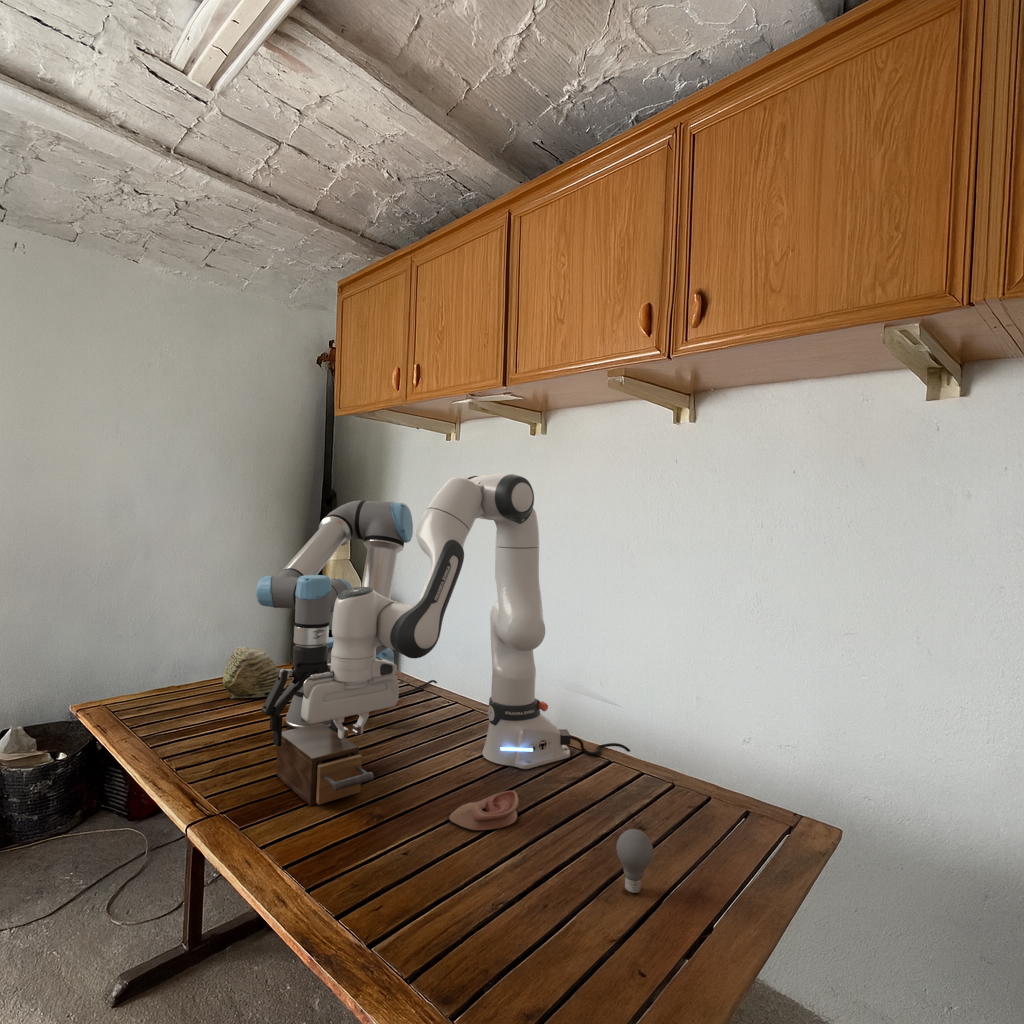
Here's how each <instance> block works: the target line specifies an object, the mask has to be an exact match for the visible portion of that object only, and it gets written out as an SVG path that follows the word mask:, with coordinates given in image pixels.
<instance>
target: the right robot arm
mask: <svg viewBox="0 0 1024 1024" xmlns="http://www.w3.org/2000/svg"><path fill="white" fill-rule="evenodd" d="M534 505H535V493H534V489H533V486H532V485H531V483H530V481H529V480H528V479H527V478H525V477H523V476H521V475H517V474H514V473H512V474H511V473H510V474H505V473H490V474H484V475H473V476H469V477H462V476H454V477H451V478H449V479H448V480H446V482H445V483H444V484H443V486H441V488H439V490H438V491H437V493H436V494H435V495H434V497H433V498H432V499H431V501H430V503H429V505H428V506H427V507H426V510H425V511H424V513H423V514H422V516H421V518H420V521H419V522H418V526H417V528H416V533H415V535H416V540H417V543H418V545H419V547H420V549H421V550H422V551H423V553H425V555H426V556H428V557H429V560H430V569H429V573H428V576H427V577H426V580H425V583H424V585H423V588H422V589H421V592H420V595H419V597H418V599H417V600H416V602H414V603H413V604H407V603H404V602H400V601H397V600H393V599H391V598H390V599H388V598H385V597H383V596H381V595H380V594H378V593H376V592H375V591H374V589H372V588H369V587H361V586H357V587H352V588H350V589H347V590H344V591H343V592H341V593H340V594H339V595H338V596H337V598H336V601H335V605H334V611H333V612H332V621H331V622H332V624H331V635H332V636H331V637H333V641H334V642H333V648H332V651H331V668H330V672H325V673H321V674H313V675H311V676H310V677H309V678H308V679H306V681H305V682H304V684H303V701H302V707H301V717H302V718H303V719H304V720H305V721H306V722H308V723H309V724H315V723H319V722H324V721H329V720H333V722H334V723H335V725H336V727H337V728H338V737H339V738H340V739H343V738H346V739H347V738H349V728H348V727H347V726H344V725H343V723H344V722H345V718H346V717H351V716H356V715H357V716H359V717H358V719H357V722H355V724H354V723H353V724H352V734H353V735H355V736H359V735H362V734H364V726H365V725H366V723H367V720H368V719H369V717H370V712H375V711H380V710H384V709H389V708H393V707H395V706H396V705H397V703H398V702H399V697H400V696H399V693H400V692H399V689H400V687H399V679H398V677H397V675H396V673H397V671H398V665H397V664H396V663H395V662H394V663H392V662H390V661H388V660H385V659H382V658H379V657H376V648H377V647H378V646H385V647H387V648H390V649H391V650H393V651H396V652H397V653H399V654H401V655H403V656H405V657H406V658H409V659H421V658H423V657H425V656H426V655H428V654H429V653H431V651H433V650H434V648H435V647H436V645H437V644H438V641H439V639H440V636H441V632H442V626H443V621H444V616H445V613H446V610H447V609H448V605H449V603H450V601H451V597H452V595H453V593H454V590H455V587H456V584H457V582H458V580H459V577H460V574H461V571H462V568H463V564H464V561H465V551H464V547H465V542H466V540H467V539H468V536H469V534H470V532H471V530H472V528H473V526H474V524H475V521H476V520H477V519H480V520H486V521H487V520H488V521H494V524H495V527H496V531H495V532H496V533H495V549H494V551H495V554H494V555H495V557H494V558H495V559H494V561H495V562H494V580H495V585H496V593H497V601H496V602H495V603H494V604H493V605H492V607H491V609H490V613H489V622H490V623H489V624H490V625H489V626H490V652H491V653H490V654H491V690H490V691H491V692H490V697H489V699H488V700H489V701H488V709H487V711H488V713H487V715H488V727H487V732H486V737H485V742H484V745H483V748H482V750H481V751H482V752H481V755H482V756H483V757H484V759H486V761H487V760H488V761H489V762H491V763H494V764H497V765H502V766H508V767H515V768H518V769H521V770H529V769H534V768H537V767H540V766H543V765H547V764H551V763H554V762H558V761H561V760H562V761H563V760H565V759H569V758H570V757H571V750H570V748H569V747H568V746H570V745H571V741H572V740H574V741H576V742H578V743H579V746H580V750H581V751H582V752H583V753H585V754H586V755H589V756H599V755H601V753H602V752H601V751H602V750H601V749H603V748H608V747H617V748H621V749H623V750H625V751H626V752H629V753H630V752H631V749H630V748H629V747H628V746H626V745H624V744H623V743H618V742H610V743H603V744H599V745H597V747H596V751H589V750H588V749H586V748H585V745H584V742H583V740H582V739H581V738H579V737H576V736H574V735H571V734H570V732H569V730H568V729H563V728H562V729H559V727H558V726H557V725H556V724H555V723H554V722H553V721H551V720H550V719H549V718H548V717H547V716H545V715H544V714H543V713H541V711H542V712H546V711H548V709H549V705H548V703H546V702H545V701H540V700H539V699H538V698H536V677H537V673H536V672H537V668H536V664H535V655H534V650H535V649H537V648H538V647H539V646H540V645H541V644H542V643H543V641H544V639H545V637H546V625H545V624H546V623H545V620H544V611H543V602H542V601H543V599H542V592H541V584H540V529H539V521H538V516H537V512H536V510H535V508H534ZM310 679H311V680H310ZM308 680H309V681H308ZM341 722H342V723H341Z"/></svg>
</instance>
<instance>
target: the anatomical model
mask: <svg viewBox="0 0 1024 1024" xmlns="http://www.w3.org/2000/svg"><path fill="white" fill-rule="evenodd" d="M518 807H519V796H518V793H517V791H515V790H505V791H501V792H498V793H496V794H492V795H490V796H488V797H486V798H483V799H481V800H478V801H475V802H474V801H472V802H467V803H465V804H463V805H461V806H459V807H457V808H456V809H455V810H453V811H452V812H451V813H450V815H449V816H448V820H449V821H450V822H451V823H453V824H455V825H457V826H459V827H462V828H465V829H466V830H467V829H468V830H470V831H489V830H495V829H501V828H504V827H507V826H510V825H513V824H514V823H515V822H516V821H517V819H518V812H517V809H518Z"/></svg>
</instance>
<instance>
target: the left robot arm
mask: <svg viewBox="0 0 1024 1024" xmlns="http://www.w3.org/2000/svg"><path fill="white" fill-rule="evenodd" d="M413 525H414V524H413V517H412V512H411V509H410V507H409V506H408V505H407V504H406V503H404V502H396V501H393V500H392V501H379V500H377V501H376V500H353V501H350V502H346V503H345V504H341V505H340V506H338V507H336V508H335V509H333V510H332V511H330V512H329V513H328V514H327V515H325V517H323V519H322V520H321V521H320V523H319V525H318V529H317V531H315V533H314V534H313V535H312V537H311V538H309V540H307V542H306V543H305V544H304V545H303V546H302V547H301V549H300V550H299V551H298V552H297V553H296V554H295V555H294V556H293V557H292V558H291V560H290V561H289V562H288V563H287V564H286V565H285V566H284V567H283V569H281V571H280V572H279V573H278V574H277V575H272V574H271V575H265V576H263V577H261V578H260V579H259V580H258V583H257V585H256V590H255V596H256V601H257V602H258V604H259V605H261V606H263V607H270V608H274V609H288V610H289V609H290V610H291V609H292V610H294V628H293V643H294V644H295V645H293V649H292V667H291V668H290V669H289V668H288V669H287V668H286V669H285V668H282V667H280V668H278V669H279V670H278V675H277V679H276V681H275V683H274V685H273V687H272V689H271V691H270V693H269V695H268V696H266V699H265V702H264V703H263V705H262V707H261V710H260V711H261V713H263V714H264V715H266V716H269V729H270V730H271V731H272V732H273V733H272V744H274V745H275V747H276V748H277V747H279V746H281V740H282V731H283V715H282V714H281V713H282V712H283V710H284V709H285V708H286V706H287V705H288V704H289V705H288V711H287V713H286V715H285V726H286V728H287V729H288V730H291V729H296V728H301V727H305V726H310V725H315V724H319V723H323V724H324V725H326V726H328V727H329V728H331V729H332V730H334V731H335V732H337V733H338V728H337V727H336V725H335V723H334V722H333V720H329V721H324V722H319V723H315V724H309V723H308V722H306V721H305V720H304V719H303V718H302V717H301V707H302V701H303V684H304V682H305V681H306V679H308V678H309V677H310V676H311V675H313V674H321V673H325V672H330V668H331V651H332V648H333V642H334V641H333V636H331V637H330V636H329V635H330V615H331V613H333V611H334V605H335V601H336V598H337V596H338V595H339V594H340V593H341V592H343V591H344V590H347V589H350V588H353V585H352V584H351V583H350V582H349V581H348V580H346V579H344V578H332V579H331V577H330V576H328V575H324V574H323V575H322V574H319V573H320V572H321V571H322V570H323V569H324V567H325V566H326V565H327V563H328V562H329V560H330V559H331V558H332V557H333V556H334V555H335V554H336V552H337V551H338V549H340V547H342V546H345V545H347V543H349V542H350V541H352V540H361V541H363V542H362V544H363V545H364V547H365V549H366V550H367V553H366V558H365V563H364V569H363V574H362V575H363V576H362V580H361V586H360V587H369V588H372V589H374V591H375V592H376V593H378V594H380V595H381V596H383V597H385V598H388V599H391V597H392V590H393V584H394V578H395V577H394V576H395V573H396V572H395V571H396V565H397V558H398V554H400V553H401V552H402V551H404V547H405V543H406V544H407V543H409V542H411V541H412V538H413V535H414V526H413ZM376 657H379V658H382V659H385V660H388V661H390V662H392V663H394V664H395V659H394V658H395V652H394V650H393V649H390V648H387V647H385V646H378V647H377V648H376ZM290 677H292V679H291V680H290V682H289V683H288V686H287V687H286V690H285V691H284V692H283V693H281V692H282V690H283V688H284V686H285V684H286V685H287V680H289V679H290ZM310 680H311V679H310ZM308 681H309V680H308ZM432 683H434V684H438V681H436V680H435V679H431V680H428V681H427V682H426V683H425V682H424V683H423V684H421V685H418V686H416V687H414V688H412V689H409V690H406V691H403V692H399V696H398V697H400V696H403V695H406V694H409V693H412V692H415V691H417V690H419V689H422V688H423V687H426V686H428V685H429V684H432ZM290 701H291V702H290ZM289 702H290V703H289ZM341 723H342V724H343V722H341Z"/></svg>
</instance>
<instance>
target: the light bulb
mask: <svg viewBox="0 0 1024 1024" xmlns="http://www.w3.org/2000/svg"><path fill="white" fill-rule="evenodd" d="M615 849H616V854H617V857H618V859H619V861H620V863H621V865H622V867H623V873H624V874H623V875H624V876H625V878H624V888H625V890H627V891H628V892H630V893H634V894H635V893H639V892H640V891H641V889H642V887H641V886H642V879H643V877H644V875H645V871H646V868H647V867H648V866H649V864H650V863H651V861H652V859H653V855H654V847H653V843H652V841H651V838H649V836H648V835H647V834H646V833H645V832H643V831H642V830H641V829H636V828H629V829H627V830H625V831H623V832H622V833H621V834H620V835H619V837H618V839H617V841H616V847H615Z"/></svg>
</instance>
